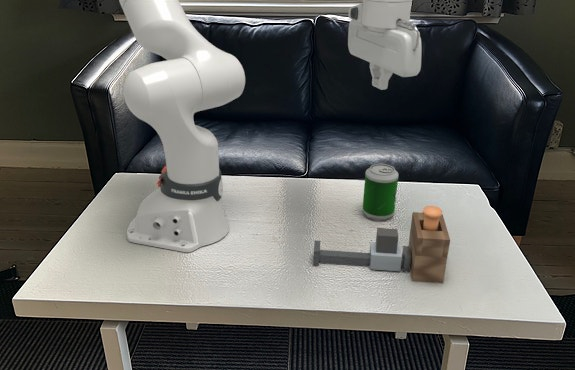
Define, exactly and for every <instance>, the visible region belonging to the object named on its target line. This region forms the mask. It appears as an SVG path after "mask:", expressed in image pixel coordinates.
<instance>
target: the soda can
mask: <svg viewBox="0 0 575 370" xmlns="http://www.w3.org/2000/svg"><path fill="white" fill-rule="evenodd" d="M364 176H365V177H364V187H363V198H362V199H363V200H362V212H363V213H364V214H365V216H366V217H367V218H368V219H370V220H373V221H379V222H380V221H381V222H382V221H387V220H389V219H390V218H391V217H392V216H394V214H395V211H396V210H395V209H396V200H397V192H398V184H399V183H398V182H399V172H398V171H397V170H396V168H395V167H394V166H392V165H390V164H386V163H376V164H372V165H371V166H370V167H369V168H367V169H366V170H365V174H364Z"/></svg>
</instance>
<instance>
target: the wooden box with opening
mask: <svg viewBox="0 0 575 370" xmlns="http://www.w3.org/2000/svg"><path fill="white" fill-rule="evenodd" d="M424 217H425V216H424V215H423V212H417V211H416V212H415V211H413V212H412V214H411V222H410V232H409V237H408V245H407V246H409V248H410V254H411V261H410V269H409V273H410V277H411V282H417V283H419V282H420V283H434V284H444V279H445V274H446V270H447V269H446V268H447V261H448V256H449V250H450V244H451V237H450V233H449V231H448V227H447V225H446V221H445V217H444V214H443V213H442V216H441V217H440V218H439V223H438V230H437V231H428V230H423V224H424Z"/></svg>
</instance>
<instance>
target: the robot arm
mask: <svg viewBox="0 0 575 370" xmlns="http://www.w3.org/2000/svg"><path fill="white" fill-rule="evenodd" d="M412 1H413V0H362V3H359V4H357V5H353V6H349V8H348V18H349V19H350V21H349V25H348V34H347V35H348V36H347V47H348V51H349V53H350V54H351V55H352V56H354V57H356V58H359V59H361V60H364V61H366V62H368V63H369V69H370V74H371V77H372V79H371V85H372V86H373V87H375V88H377V89H379V90H381V91H382V90H387V89H388V86H389V80H390V78H391V77H392V76H393V74H395V75H397V76H400V77H401V78H409V77H414V76H415V77H416V76H418V74H419V73H420V72H421V68H422V50H423V49H422V38H421V33H420V31H419V29H418V27H417V25H416V24H415V23H413V22H410V20H411V10H412ZM118 2H119V5H120V7H121V9H122V10H123V13H124V15H125V18H126V20H127V22H128V24H129V27H130V30H131V32H132V34H133V35H134V38H135V40H136V42H137V43H138V44H139V46H140V47H141V48H143V49H144V50H146V51H147V52H150V53H153V54H155V55H158V56H161V57H162V58H163V59H165V60H162V61H156V62H151V63H148V64H146V65H143V66H141V67H139V68H137V69H134V70H132V71H130V72H128V75H127V76H126V78H125V81H124V84H123V97H124V101H125V104H126V106H127V108H128V110H129V111H130V112H131V113H132V114H133V116H135V117H136V118H138V119H139V120H141V121H142V122H145V123H147V124H148V125H149V126H151V127H152V128H153V129H154V130H155V131H156V133H157V135H158V136H159V138H160V140H161V143H162V147H163V153H164V157H165V158H164V159H165V166H164V167H163V168H162V169H161V174H160V175H159V177H158V181H157V182H156V184H157V189H155V190H154V191H153V192H151V193H149V194H148V195H147V196H146V197H145V198H144V199H143V200H142V201H141V203H140V205H139V206H138V209H137V212H136V215H135V216H134V218H133V219H132V220H130V223H129V225H128V226H127V230H126V239H127V241H128V242H131V243H134V244H139V245H145V246H151V247H156V248H161V249H166V250H170V251H171V250H172V251H177V252H181V253H182V252H183V253H193V252H194V251H196V250H197V249H199V248H201V247H204V246H208V245H211V244H214V243H216V242H218V241H220V240H222V239H224V238H225V236H226V235H227V234H228V232H229V230H230V224H229V222H228V219H227V217H226V214H225V208H224V204H223V198H222V196H223V190H224V187H223V178H222V171H221V169H220V164H219V163H220V161H219V159H220V158H219V143H218V139H217V137H216V136H215V135H214V133H213V132H211V131H210V130H209V129H207V128H205V127H202V126H199V125H196V124H195V121H194V115H195V114H196V113H198V112H200V111H201V112H202V111H206V110H209V109H214V108H217V107H221V106H224V105H226V104H229V103H230V102H233V100H235V99H238V98H240V96H241V95H242V94H243V92H244V89H245V85H246V75H245V70H244V68H243V65H242V64H241V62H240V61H239V60H238V58H237V57H236V56H234V55H233V54H231V53H228V52H226V51H225V50H222V49H220V48H218V47H216V46H215V45H213V43H211V42H209V41H208V40H207V39H206V38H205V37H204V36H203V35H202V34H201V33H200V32H199V31H198V30H197V29H196V28H195V26H194V25H193V24H192V22H191V21H190V20H189V18H188V16H187V14H186V12H185V11H184V8H183V7H182V5H181V2H180V0H119V1H118Z"/></svg>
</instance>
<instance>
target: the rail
mask: <svg viewBox="0 0 575 370" xmlns="http://www.w3.org/2000/svg"><path fill="white" fill-rule="evenodd" d="M401 254H402V260H401V268H400V270H402V272H403V273H410V261H411V254H410V248H409V246H408V245H402V251H401ZM370 260H371V255H370V252H358V251H345V250H344V251H342V250H327V249H326V250H325V249H321V240H314V244H313V260H312V261H313V262H312V266H314V267H319V266H320V264H322V265H323V264H324V265H339V266H351V267H352V266H353V267H366V268H367V267H368V268H370Z"/></svg>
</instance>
